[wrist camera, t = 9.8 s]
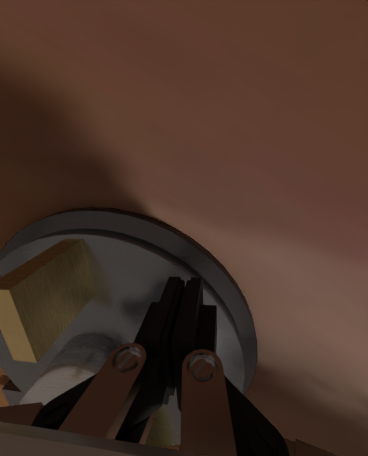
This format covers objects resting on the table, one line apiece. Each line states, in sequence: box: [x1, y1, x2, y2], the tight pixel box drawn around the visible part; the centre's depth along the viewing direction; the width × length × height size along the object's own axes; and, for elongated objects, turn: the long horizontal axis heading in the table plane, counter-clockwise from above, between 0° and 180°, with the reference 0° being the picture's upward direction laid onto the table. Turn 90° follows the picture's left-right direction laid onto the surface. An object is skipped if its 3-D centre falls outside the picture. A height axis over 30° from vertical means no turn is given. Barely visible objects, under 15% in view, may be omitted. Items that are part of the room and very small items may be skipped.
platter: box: [0, 228, 245, 447], centre depth 15 cm, size 20×20×6 cm
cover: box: [19, 334, 121, 405], centre depth 15 cm, size 6×6×6 cm
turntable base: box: [0, 207, 257, 395], centre depth 19 cm, size 22×22×1 cm
